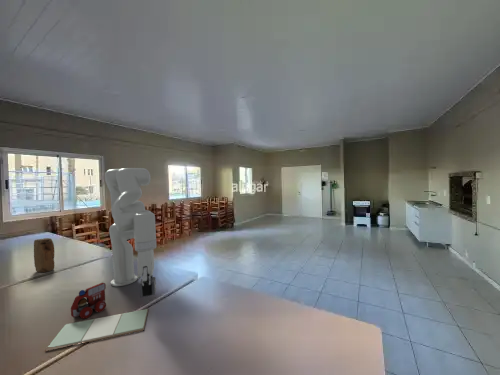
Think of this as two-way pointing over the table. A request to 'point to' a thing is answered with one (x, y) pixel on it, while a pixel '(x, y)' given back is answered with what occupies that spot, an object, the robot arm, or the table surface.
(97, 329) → the pale green flat board
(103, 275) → the table surface
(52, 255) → the block
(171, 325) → the table surface
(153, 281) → the die
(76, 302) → the toy fire truck
